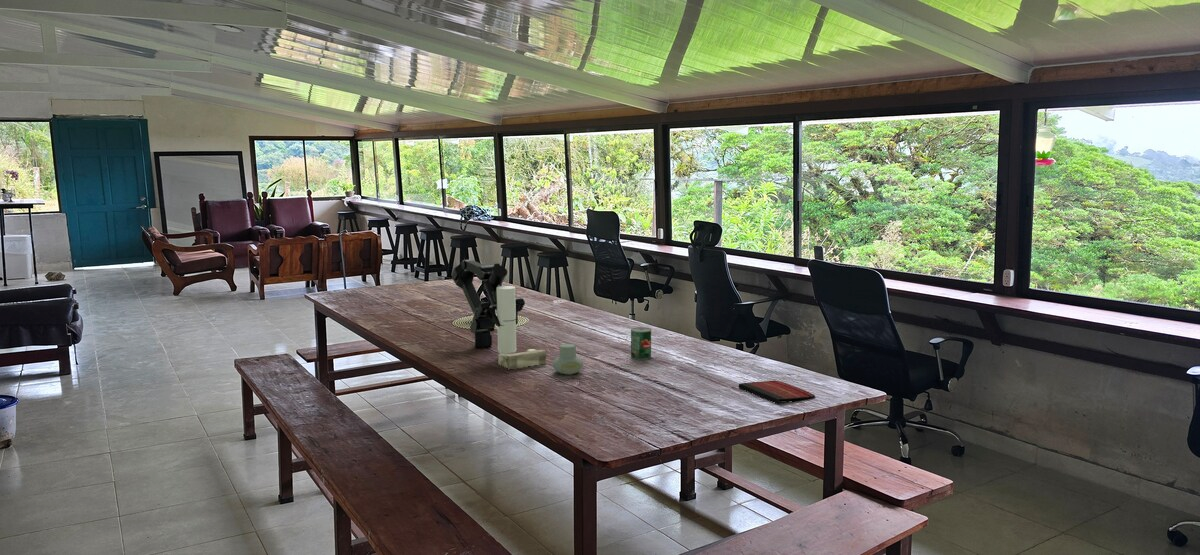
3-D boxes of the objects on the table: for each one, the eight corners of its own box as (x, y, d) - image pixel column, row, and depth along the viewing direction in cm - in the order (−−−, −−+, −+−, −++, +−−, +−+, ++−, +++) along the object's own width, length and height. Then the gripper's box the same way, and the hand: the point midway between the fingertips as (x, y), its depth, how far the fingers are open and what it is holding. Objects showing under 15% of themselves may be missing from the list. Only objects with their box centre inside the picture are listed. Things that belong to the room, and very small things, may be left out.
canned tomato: (649, 360, 312) (649, 331, 311) (629, 359, 314) (629, 331, 312) (652, 355, 320) (652, 327, 319) (632, 354, 322) (632, 326, 320)
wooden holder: (498, 364, 308) (498, 351, 307) (533, 358, 316) (533, 346, 315) (510, 369, 300) (509, 356, 299) (545, 364, 308) (545, 351, 307)
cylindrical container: (515, 353, 314) (514, 289, 310) (496, 353, 315) (495, 289, 311) (517, 348, 321) (516, 285, 317) (499, 348, 322) (497, 285, 318)
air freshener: (555, 376, 290) (555, 349, 289) (550, 371, 298) (550, 344, 297) (585, 374, 293) (585, 347, 292) (579, 368, 301) (579, 342, 300)
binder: (778, 398, 256) (738, 382, 274) (778, 406, 256) (737, 389, 274) (818, 393, 263) (776, 378, 281) (818, 401, 263) (776, 385, 282)
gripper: (479, 282, 312) (492, 315, 305) (522, 277, 322) (536, 310, 315) (470, 299, 320) (483, 332, 312) (513, 294, 330) (527, 326, 322)
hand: (508, 324), depth 315 cm, fingers closed on cylindrical container, 7 cm apart
